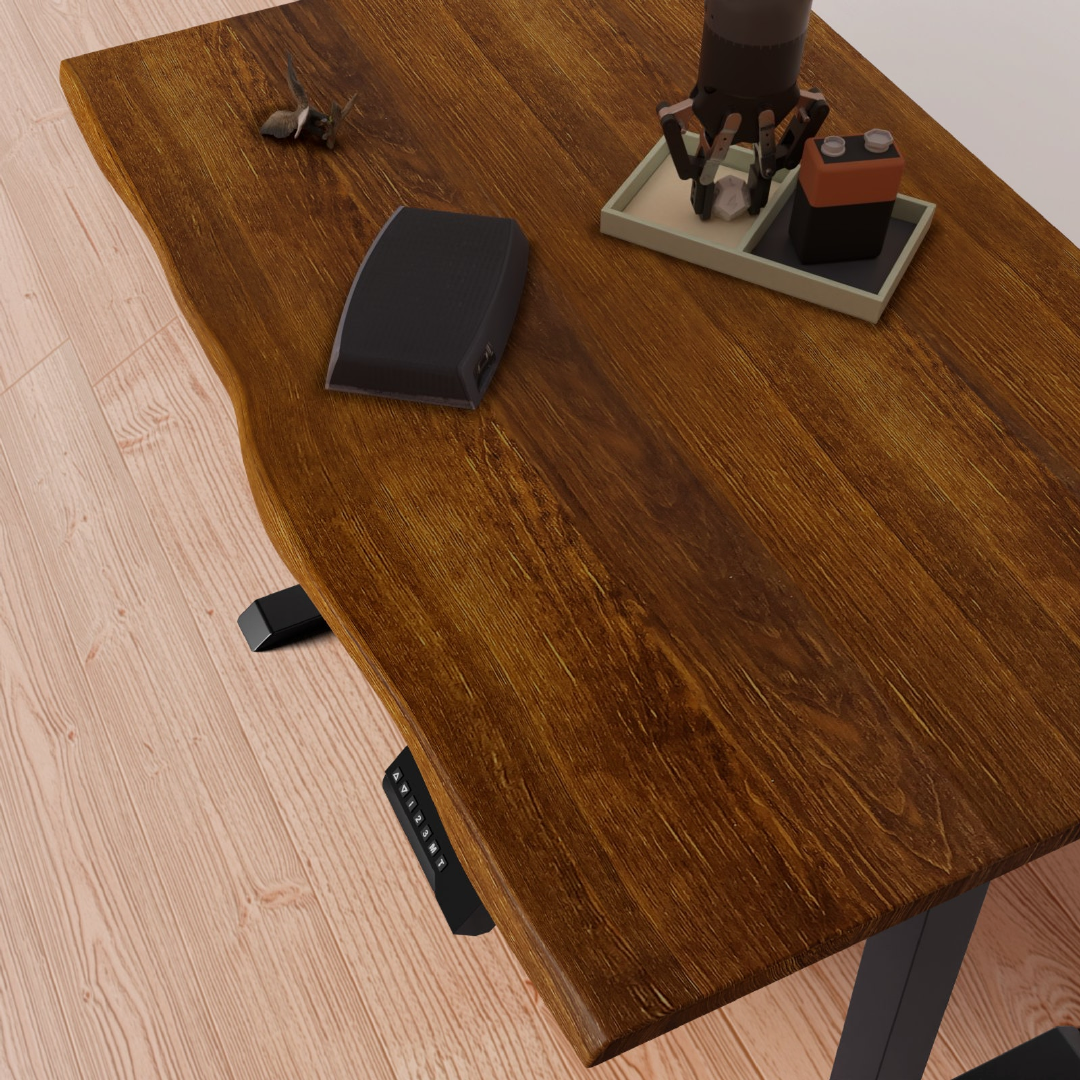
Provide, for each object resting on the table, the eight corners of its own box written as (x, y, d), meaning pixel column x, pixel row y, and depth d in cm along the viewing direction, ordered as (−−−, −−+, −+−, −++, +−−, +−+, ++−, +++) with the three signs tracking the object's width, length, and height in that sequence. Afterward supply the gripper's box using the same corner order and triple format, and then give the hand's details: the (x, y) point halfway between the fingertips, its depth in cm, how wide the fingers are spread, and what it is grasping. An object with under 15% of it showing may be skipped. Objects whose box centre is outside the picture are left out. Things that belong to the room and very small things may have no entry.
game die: (745, 199, 99) (750, 169, 97) (750, 226, 97) (755, 196, 94) (704, 199, 99) (708, 169, 97) (708, 227, 97) (712, 196, 94)
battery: (881, 259, 94) (911, 150, 86) (799, 267, 93) (821, 159, 86) (865, 225, 97) (893, 117, 89) (785, 233, 96) (806, 125, 88)
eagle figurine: (375, 114, 107) (302, 66, 109) (346, 77, 100) (268, 28, 102) (328, 183, 108) (256, 135, 110) (296, 151, 101) (220, 101, 103)
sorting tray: (928, 232, 98) (937, 204, 95) (874, 329, 90) (882, 301, 88) (668, 153, 105) (671, 125, 103) (599, 237, 98) (600, 210, 95)
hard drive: (315, 393, 87) (305, 353, 84) (388, 232, 98) (382, 191, 95) (485, 417, 85) (482, 377, 82) (539, 251, 97) (538, 209, 93)
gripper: (672, 50, 81) (654, 249, 95) (868, 32, 82) (822, 231, 96) (650, -4, 86) (635, 193, 99) (835, -20, 87) (795, 177, 101)
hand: (727, 210), depth 98 cm, fingers closed on game die, 3 cm apart
